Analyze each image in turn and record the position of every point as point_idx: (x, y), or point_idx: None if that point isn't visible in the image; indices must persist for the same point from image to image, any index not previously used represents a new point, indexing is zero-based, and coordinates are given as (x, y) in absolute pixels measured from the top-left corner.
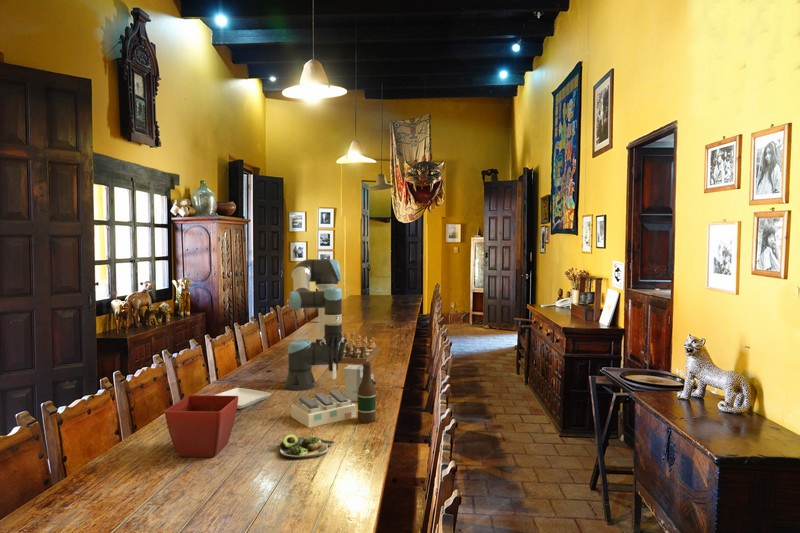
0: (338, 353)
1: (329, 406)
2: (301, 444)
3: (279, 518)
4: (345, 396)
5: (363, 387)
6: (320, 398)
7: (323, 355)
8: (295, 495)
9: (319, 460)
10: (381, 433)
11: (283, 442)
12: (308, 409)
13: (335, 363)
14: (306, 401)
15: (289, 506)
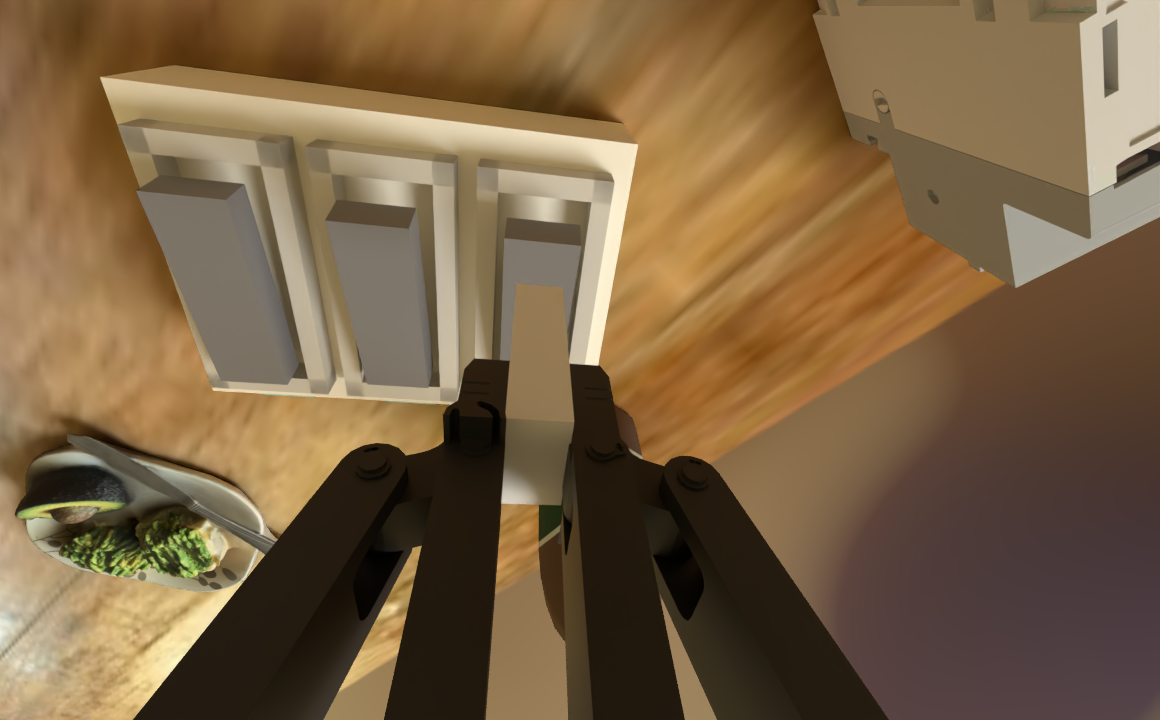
0: (721, 611)
1: (386, 395)
2: (139, 518)
3: (27, 712)
4: (829, 10)
5: (555, 628)
6: (349, 313)
7: (244, 606)
8: (78, 677)
9: (199, 592)
10: (527, 550)
11: (26, 517)
12: (208, 370)
13: (558, 492)
14: (197, 304)
15: (56, 696)
